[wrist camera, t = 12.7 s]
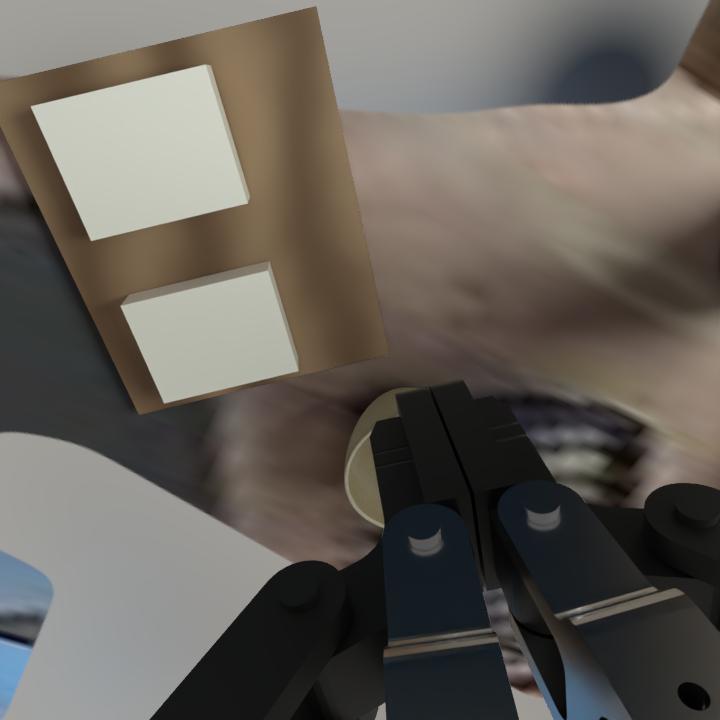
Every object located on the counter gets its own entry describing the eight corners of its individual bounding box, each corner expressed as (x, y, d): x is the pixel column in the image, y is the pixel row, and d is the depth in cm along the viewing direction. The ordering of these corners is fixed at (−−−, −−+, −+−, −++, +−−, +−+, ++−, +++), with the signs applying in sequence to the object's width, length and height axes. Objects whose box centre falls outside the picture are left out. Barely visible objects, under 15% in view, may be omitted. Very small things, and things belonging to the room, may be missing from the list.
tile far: (267, 270, 33) (120, 306, 33) (298, 371, 36) (164, 403, 36) (269, 259, 34) (129, 293, 34) (298, 356, 38) (170, 387, 38)
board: (315, 8, 30) (316, 6, 29) (387, 348, 39) (389, 354, 38) (-10, 86, 30) (-19, 86, 29) (142, 407, 39) (139, 414, 38)
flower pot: (311, 435, 42) (314, 498, 36) (387, 334, 39) (406, 383, 32) (413, 486, 45) (432, 552, 39) (491, 397, 42) (526, 453, 36)
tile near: (205, 64, 27) (30, 106, 27) (247, 203, 31) (91, 241, 31) (211, 65, 29) (47, 104, 29) (250, 196, 33) (103, 231, 33)
